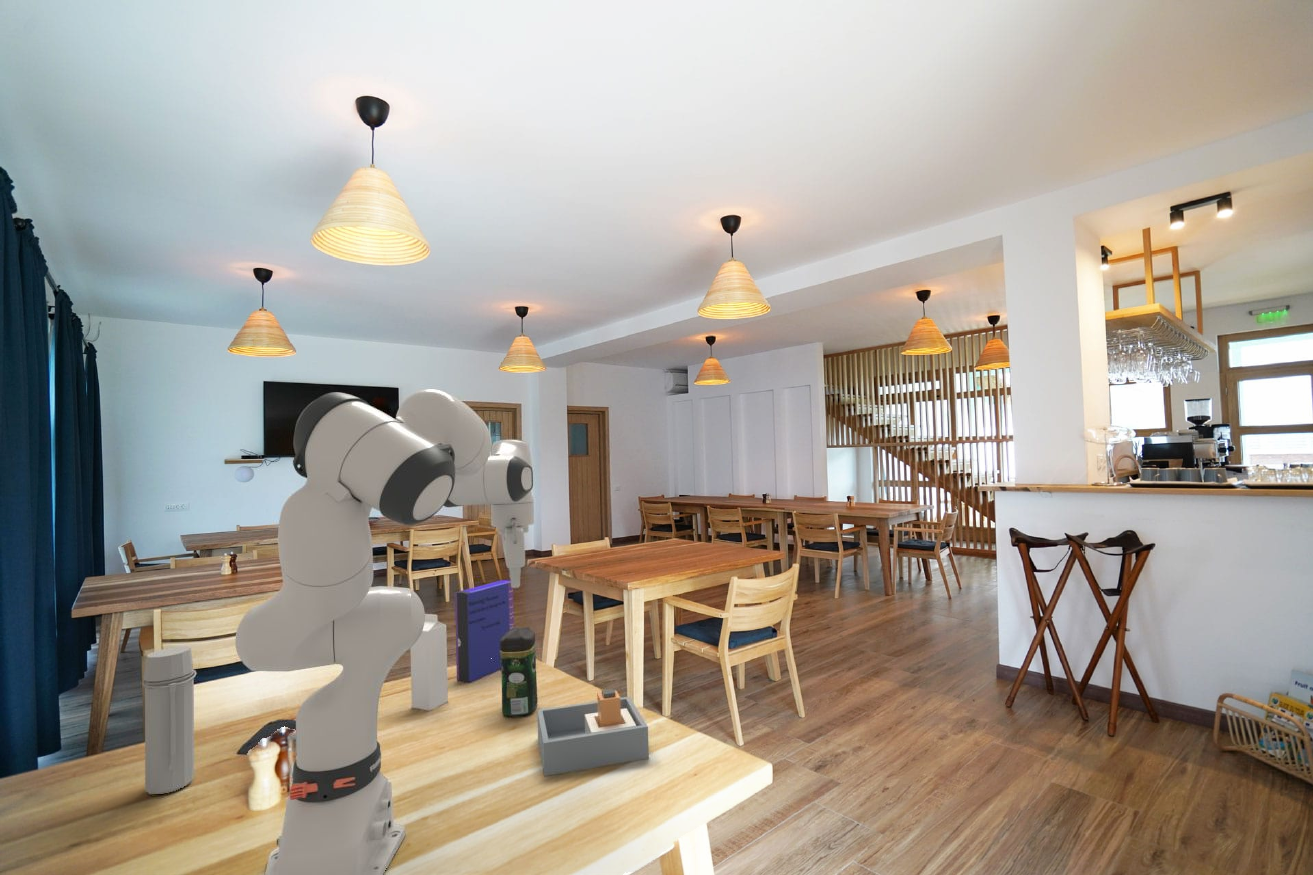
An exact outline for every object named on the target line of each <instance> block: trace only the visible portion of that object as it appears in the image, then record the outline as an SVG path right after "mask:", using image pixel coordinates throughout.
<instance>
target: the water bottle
mask: <svg viewBox="0 0 1313 875" xmlns="http://www.w3.org/2000/svg"><path fill="white" fill-rule="evenodd" d="M143 675H144V676H143V681H142V682H141V684H142V686H143V687H144V698H145V699H144V754H145V756H144V776H145V777H144V780H145V781H144V786H145V787H144V789H145V790H144V791H145V792H146V793H147V792H148V793H147V794H149V795H151V794H164V793H167V792H172V793H174V792H177V791H178V789H179V790H181V789H180V788H182V789H183V788H185V787H187V786H188V785H189V784H190V783H191V782H192V781H193V779H194V777H195V715H194V714H195V711H194V710H195V703H194V702H195V701H194V700H195V697H194V696H195V693H194V690H195V689H194V688H195V687H194V684H195V683H194V682H195V681H194V679H195V678H196V675H197V671H196V669H194V663H193V656H192V649H191V647H190V646H175V647H168V648H164V649H159V650H156V651H153V652H150V653H148V654H147V655H146V658H145V665H144V674H143ZM184 786H185V787H184ZM176 790H177V791H176ZM173 791H174V792H173ZM164 795H165V794H164Z"/></svg>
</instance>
